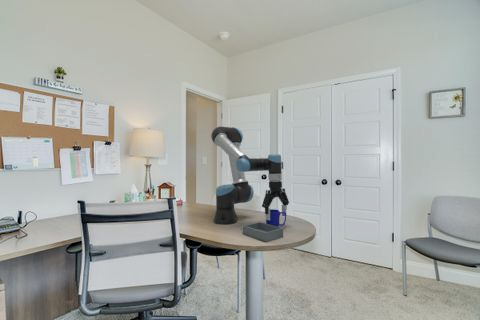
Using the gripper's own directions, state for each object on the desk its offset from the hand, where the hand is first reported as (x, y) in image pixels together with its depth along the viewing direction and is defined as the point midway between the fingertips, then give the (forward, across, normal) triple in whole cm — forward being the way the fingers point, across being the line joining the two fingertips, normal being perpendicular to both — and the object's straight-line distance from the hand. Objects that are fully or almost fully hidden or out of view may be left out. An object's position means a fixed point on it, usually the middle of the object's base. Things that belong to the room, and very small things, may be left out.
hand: (276, 217), depth 142 cm
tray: (+6, -16, -4) cm, 17 cm away
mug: (+6, 0, +1) cm, 6 cm away
